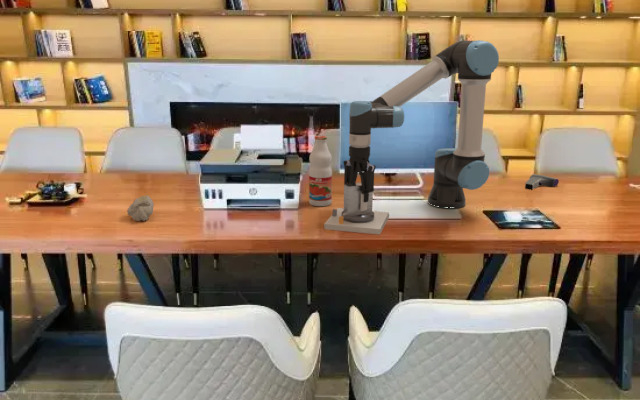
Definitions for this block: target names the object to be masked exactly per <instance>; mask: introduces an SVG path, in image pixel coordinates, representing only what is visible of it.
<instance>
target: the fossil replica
mask: <svg viewBox="0 0 640 400" xmlns="http://www.w3.org/2000/svg"><path fill="white" fill-rule="evenodd" d="M154 205H155V204H154V201H153V200H152V198H151V196H149V195H147V194H146V195H142V196H139V197H136V198H135V199H134V200H133V202H132V203H131V204H130V205H129V207H128V208H127V211H126V212H127V215H128V216H130V217H131V219H132V220H134V221H136V220H137V221H136V222H140V221H144V222H146V221H148V220H149V217H150V216H151V215H152V214H153V213H154ZM145 220H146V221H145Z"/></svg>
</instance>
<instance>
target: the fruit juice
mask: <svg viewBox="0 0 640 400" xmlns="http://www.w3.org/2000/svg"><path fill="white" fill-rule="evenodd" d="M327 141H328V136H327V135H323V134H322V135H320V134H319V135H314V145H313V147H312V150H311V151H310V152H311V153H310V154H309V160H308V161H309V164H310V165H309V170H308V203H309V204H310V205H311V206H314V207H328V206H331V204H333V203H332V202H333V168H332V166H331V165H332V161H333V157H332V156H333V155H332V154H331V152H330V150H329V147H328V143H327Z"/></svg>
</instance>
